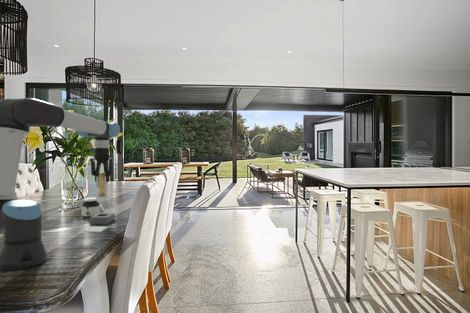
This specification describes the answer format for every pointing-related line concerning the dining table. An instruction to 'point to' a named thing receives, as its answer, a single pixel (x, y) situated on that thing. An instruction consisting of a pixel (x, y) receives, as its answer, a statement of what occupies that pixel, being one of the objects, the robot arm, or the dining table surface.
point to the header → (102, 218)
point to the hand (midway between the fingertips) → (102, 187)
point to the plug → (101, 184)
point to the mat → (96, 229)
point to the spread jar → (91, 207)
